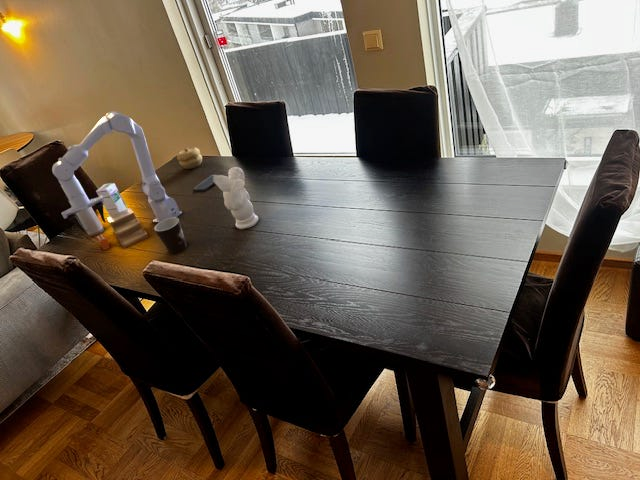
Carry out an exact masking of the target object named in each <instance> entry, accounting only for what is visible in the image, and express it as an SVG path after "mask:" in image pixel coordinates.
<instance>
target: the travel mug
mask: <svg viewBox="0 0 640 480" xmlns="http://www.w3.org/2000/svg"><path fill="white" fill-rule="evenodd" d="M64 195H65V198H66V199H67V201H68V203H69V204H70V206H71V207H73V206H72V204H71V202H70V200H69V199H68V197H67V195H66V194H65V193H64ZM75 215H76V217H77V219H78V220H79V222H80V224H81V225H82V226H83V228H84V230H85V232H86V234H87V235H88V236H89V237H95V236H99V235H101V233H102V232H104V229H105V228H104V226H103V225H102V222H101V221H100V219H99V217H98V216H97V214H96V212H95V211H94V209H93V206H92V207H90V208H87V209H85V210H83V211H80V212H78V213H75Z"/></svg>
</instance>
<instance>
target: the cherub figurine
mask: <svg viewBox="0 0 640 480" xmlns="http://www.w3.org/2000/svg"><path fill="white" fill-rule="evenodd" d="M213 175H214V177H213V179H214V180H213V182H215V184H214V185H216V186H217V187H218V189H219V190H221V191H222V196H223V200H224V202H223V204H224V206H225V208H226V209H227V210H228V211H230V213H231V215H232V217H233V219H235V225H234V226H235V227H236V228H237V229H239V230H245V229H249V228H251V227H254V226H255V225H256V224H257V223H258V222H259V216H258V215H257V214H255V212H254V206H253V204H252V202H251V201H250V200H251V197H250V194H249V192H248V191H247V190H246V188H245V183H246V182H245V180H246V177H245V172H244V170H243V169H242V168H241V167H238V166H234V167H233V166H232V167H231V168H229V169H228V176H227V175H224V174H213ZM218 175H220V176H218Z"/></svg>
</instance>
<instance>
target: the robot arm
mask: <svg viewBox="0 0 640 480" xmlns="http://www.w3.org/2000/svg"><path fill="white" fill-rule="evenodd" d="M114 131H115V132H117V133H120V134H125V135H126V136H128V137H129V139H130V142H131V145H132V148H133V151H134V155H135V158H136V161H137V164H138V167H139V170H140V174H141V181H142V186H141V189H142V192H143V193H144V194H145V195H146V196H147V202H148V204H149V206H150V208H151V210H152V212H153V214H154V216H155V218H154V219H153V220H152V223H159V222H161V221H163V220H165V219H168V218H176V217H177V218H179V216H180V215H182V213H183V211H181V210H180V208H179V206H178V204H177V202H176V200H175V198H173V197H170V196H168V195H167V193H166V189H165V187H164V186H163V185H162V184H161V181H160V179H159V177H158V176H157V174H156V170H155V167H154V163H153V161H152V157H151V153H150V150H149V147H148V143H147V140H146V137H145V134H144V130H143V127H141V126H140V125H139V124H137V123H136V122H135V121H134V120H133V119H132V118H131V117H129V116H127V115H125V114H122V113H120V112H118V111H114V110H113V111H108V112H107V113H106V114H105V116H103V117H102V118H100V120H99V121H98V122H97V123H96V124H95V125H94V127H92V129H91V130H90V132H89V133H88V134H87V135H86V136H85V137H84V139H83V140H82V141H81V142H80V143H79V144H73V145H72V146H68V148H67V150H68V151H66V153H65V154H64V155H63V156H62V157H59V158H58V159H57V160H58V161H56V162H55V163H53V164H52V168H51V171H52V174H53V175H54V177H56V179H57V180H58V183H59V184H60V187H61V188H62V190H63V193H64V195H65V194H66V195H67V197H68V199H69V200H70V202H71V204H72V206H73V207H72V206H71V207H70V208H68V209H66V210H64V211H62V212H61V215H62V217H63V219H64V220H65V219H68V221H69V222H71V223H73V224H74V225H76V226H77V227H78V228H79V229H80V230H81V231H82V233H85V232H86V230H85V228H84V227H83V225H82V223H81V221H80V220H79V218H78V216H77V215H76V213H78V212H80V211H83V210H85V209H87V208H90V207H92V208H93V207H94V206H95V208H96V211H97V212H98V214H99V216H100V218H101V221H102V222H103V223H106V222H107V221H106V219H105V214H104V205H103V202H105V201H104V199H103V197H102V196H100V197H99V196H97V197H94V198H91V199H89V197H88V195H87V194H86V192H85V190H84V188H83V186H82V185H81V182H80V181H79V180H78V179H77V177H76V176H75V171H77V170H78V169H79V168H80V166H82V164H83V163H84V162H85V161H86V160H87V159H88V157H89V151H90V149H92V148H93V146H95V145H96V144H97V143H98V141H100V139H101V138H103V137H104V136H105V135H112V134H114ZM67 197H66V198H67ZM68 199H67V200H68ZM71 204H70V205H71Z"/></svg>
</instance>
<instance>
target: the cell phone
mask: <svg viewBox="0 0 640 480" xmlns="http://www.w3.org/2000/svg"><path fill="white" fill-rule="evenodd" d="M214 175H215V174H211V175H210V176H209V177H207V178H206V179H204V180H203V181H201V182H200V183H199V184H197V185H196V186H194V188H193V190H194V191H207V190H208V189H210V188H212V186H214V185H216V184H215V182H213V180H214V179H213V177H214ZM217 175H218V176H220V175H221V174H217Z"/></svg>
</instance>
